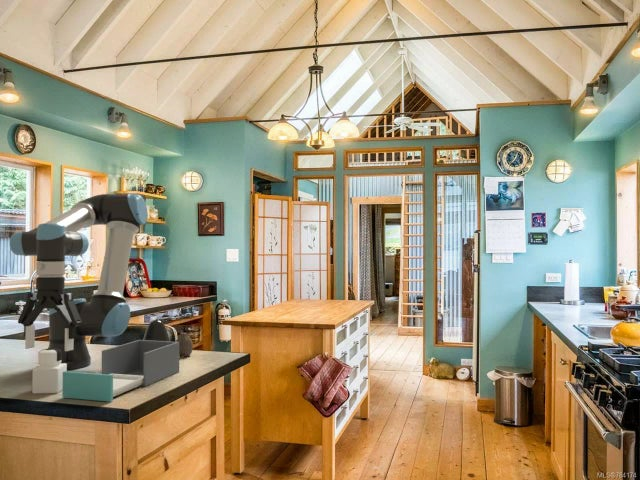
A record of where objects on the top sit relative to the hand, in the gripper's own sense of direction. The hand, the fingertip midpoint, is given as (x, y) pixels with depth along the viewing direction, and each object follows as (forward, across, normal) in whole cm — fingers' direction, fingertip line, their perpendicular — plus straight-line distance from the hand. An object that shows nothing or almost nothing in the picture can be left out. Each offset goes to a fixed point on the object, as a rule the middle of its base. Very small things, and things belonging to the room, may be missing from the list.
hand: (49, 349), depth 159 cm
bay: (+12, +17, +21) cm, 29 cm away
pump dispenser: (+12, +8, +44) cm, 47 cm away
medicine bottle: (+12, 0, 0) cm, 12 cm away
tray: (+12, +17, +6) cm, 21 cm away
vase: (+12, +13, +56) cm, 58 cm away
